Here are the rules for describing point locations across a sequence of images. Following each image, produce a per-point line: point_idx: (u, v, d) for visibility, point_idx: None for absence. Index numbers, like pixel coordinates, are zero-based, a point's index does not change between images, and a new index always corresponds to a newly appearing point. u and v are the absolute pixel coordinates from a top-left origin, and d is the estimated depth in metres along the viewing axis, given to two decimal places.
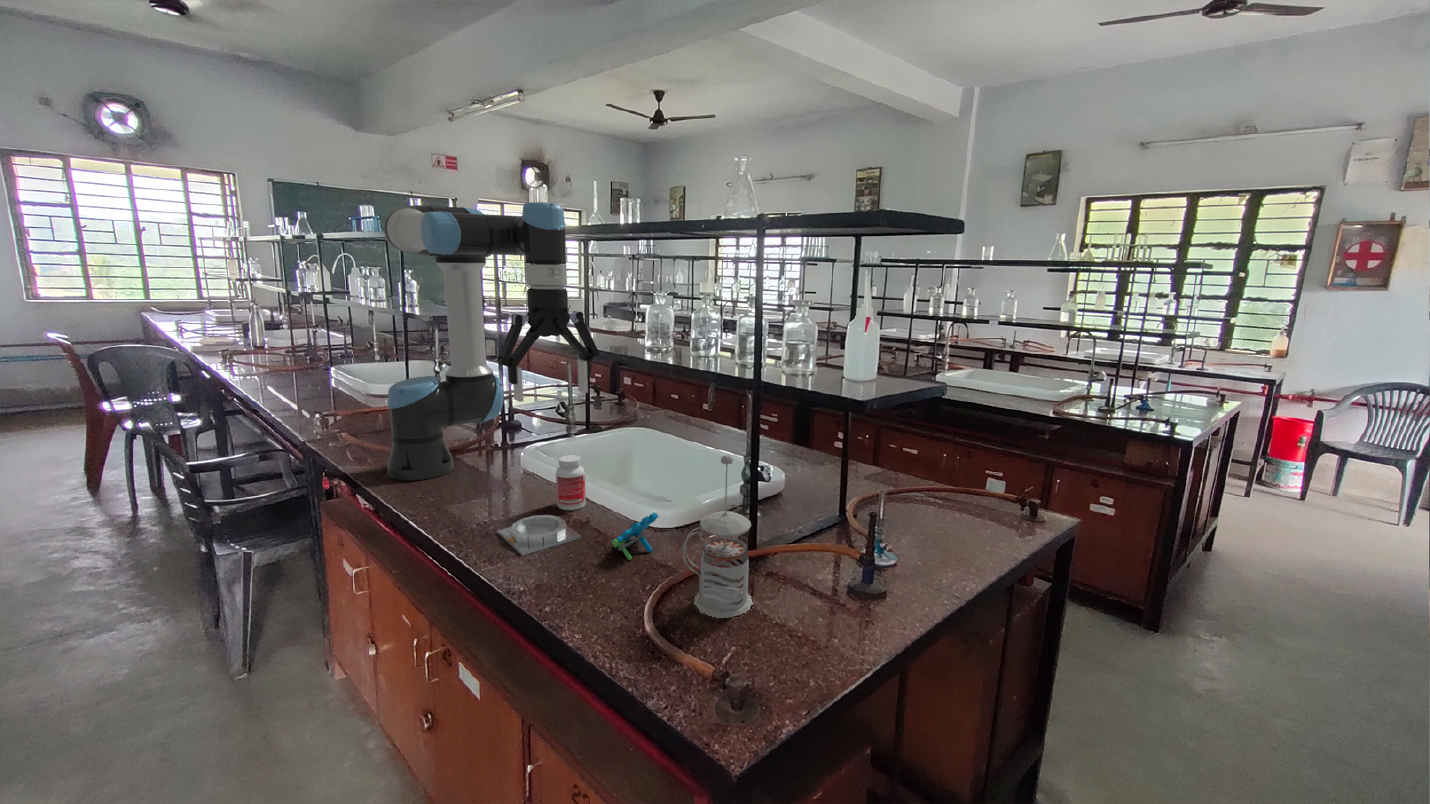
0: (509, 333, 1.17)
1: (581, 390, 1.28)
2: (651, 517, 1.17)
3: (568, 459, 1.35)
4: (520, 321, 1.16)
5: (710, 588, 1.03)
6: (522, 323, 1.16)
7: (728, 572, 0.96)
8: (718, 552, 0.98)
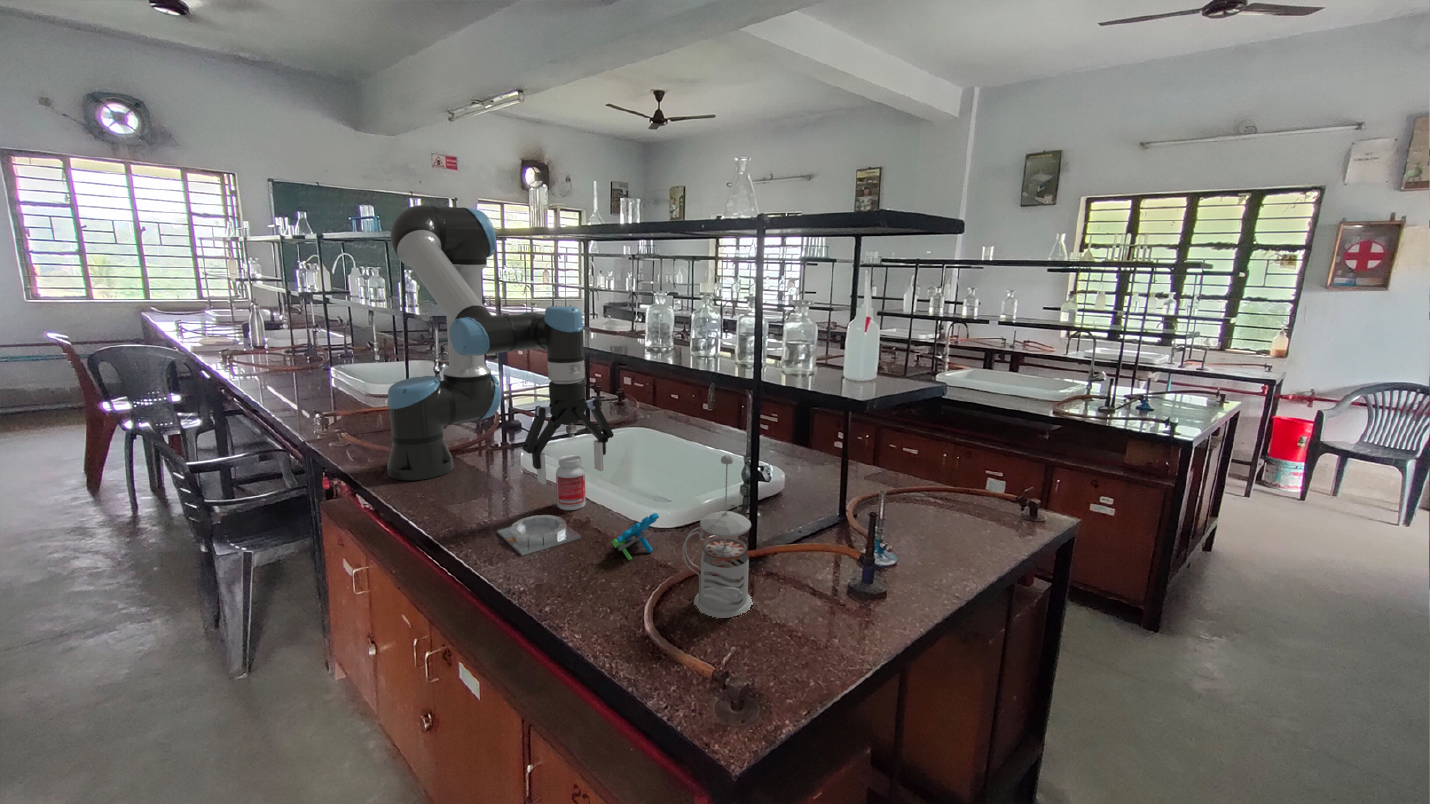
0: (533, 424, 1.29)
1: (597, 468, 1.41)
2: (651, 517, 1.17)
3: (568, 459, 1.35)
4: (543, 413, 1.29)
5: (710, 588, 1.03)
6: (545, 415, 1.29)
7: (728, 572, 0.96)
8: (719, 552, 0.98)
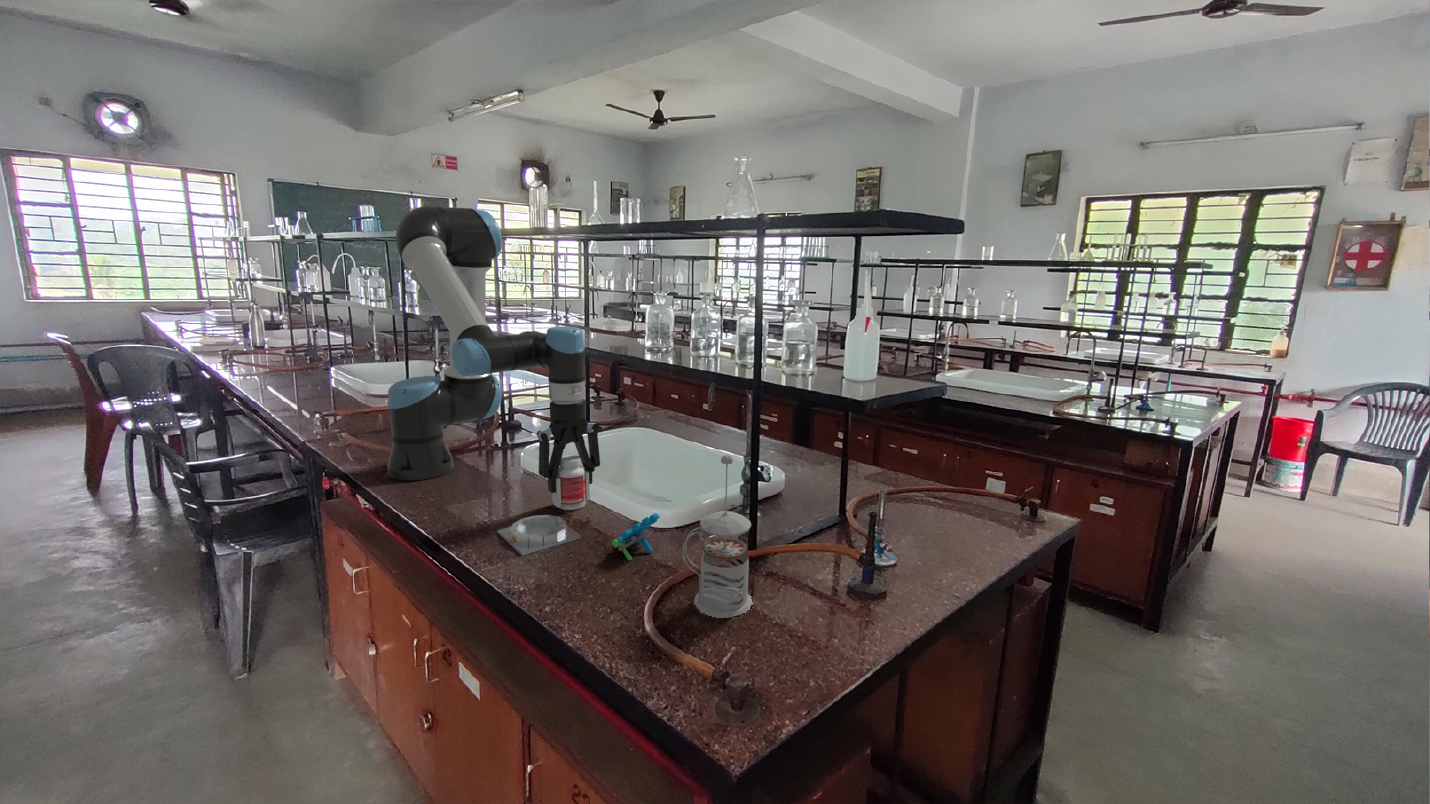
0: (540, 449, 1.32)
1: None
2: (652, 518, 1.17)
3: (568, 459, 1.35)
4: (546, 438, 1.30)
5: (710, 588, 1.03)
6: (548, 439, 1.31)
7: (728, 572, 0.96)
8: (719, 552, 0.98)
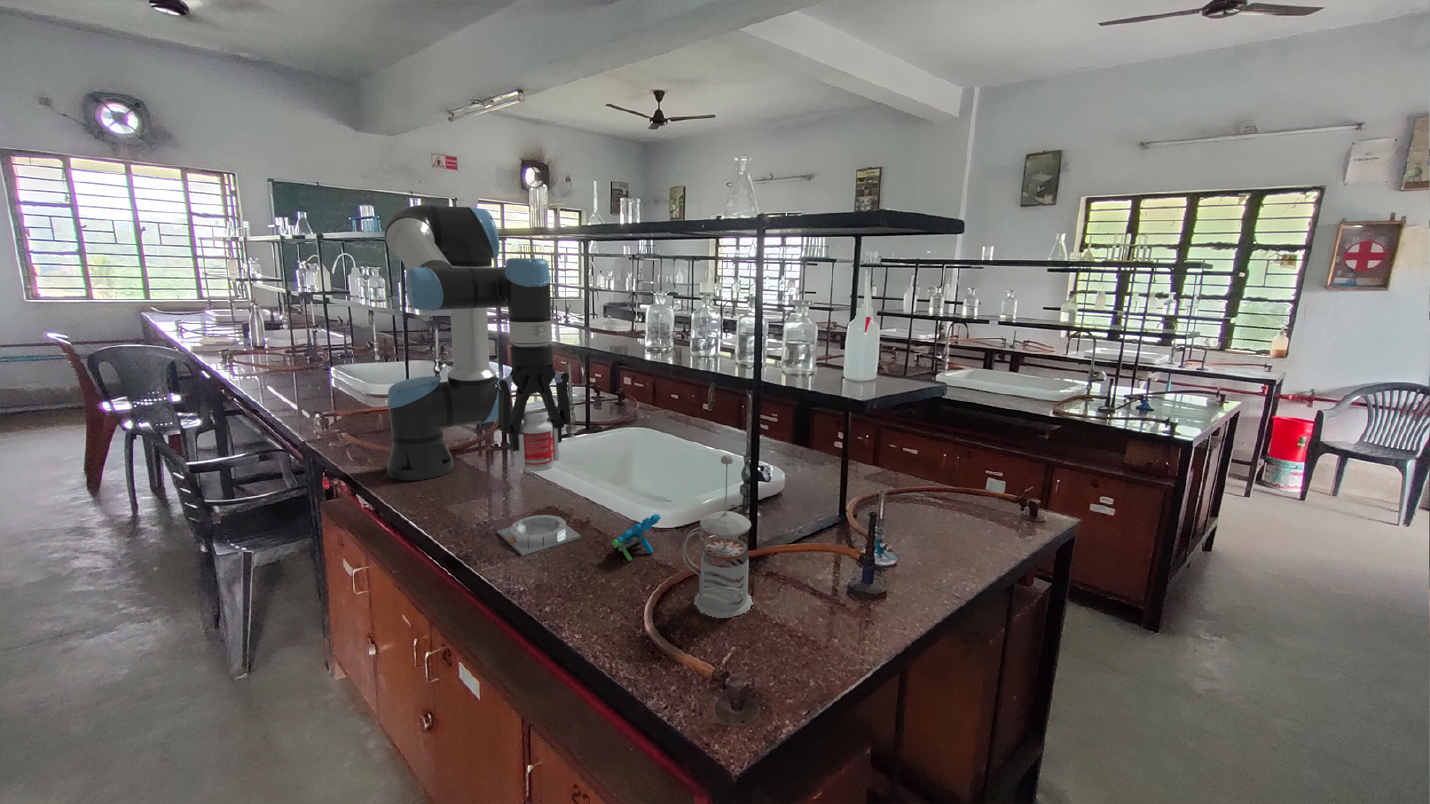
0: (500, 400, 1.14)
1: None
2: (652, 518, 1.16)
3: (533, 413, 1.17)
4: (505, 386, 1.13)
5: (710, 588, 1.03)
6: (508, 387, 1.13)
7: (728, 572, 0.96)
8: (719, 552, 0.98)
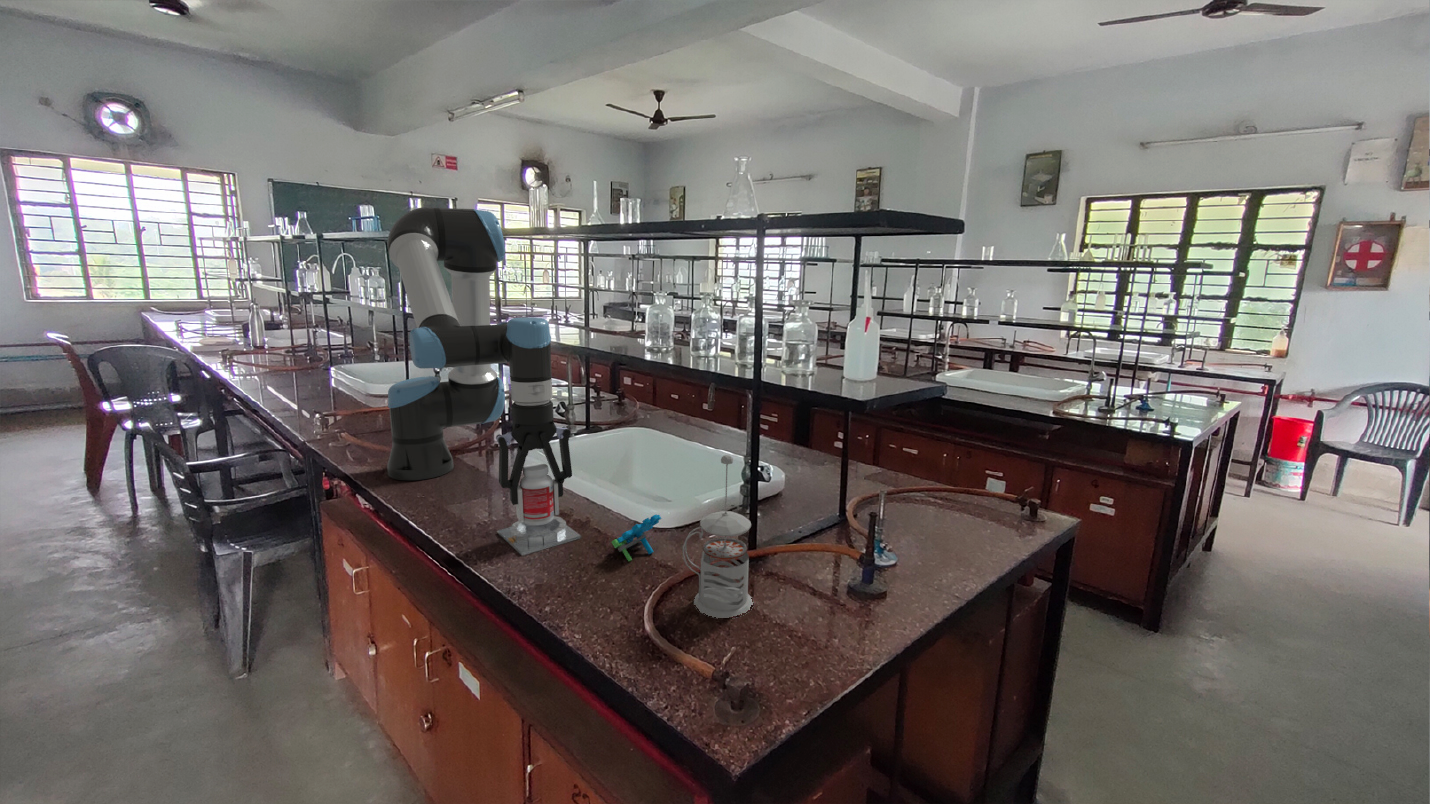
0: (499, 455, 1.17)
1: None
2: (652, 519, 1.16)
3: (532, 468, 1.19)
4: (504, 443, 1.15)
5: (710, 588, 1.03)
6: (507, 444, 1.16)
7: (728, 572, 0.96)
8: (719, 552, 0.98)
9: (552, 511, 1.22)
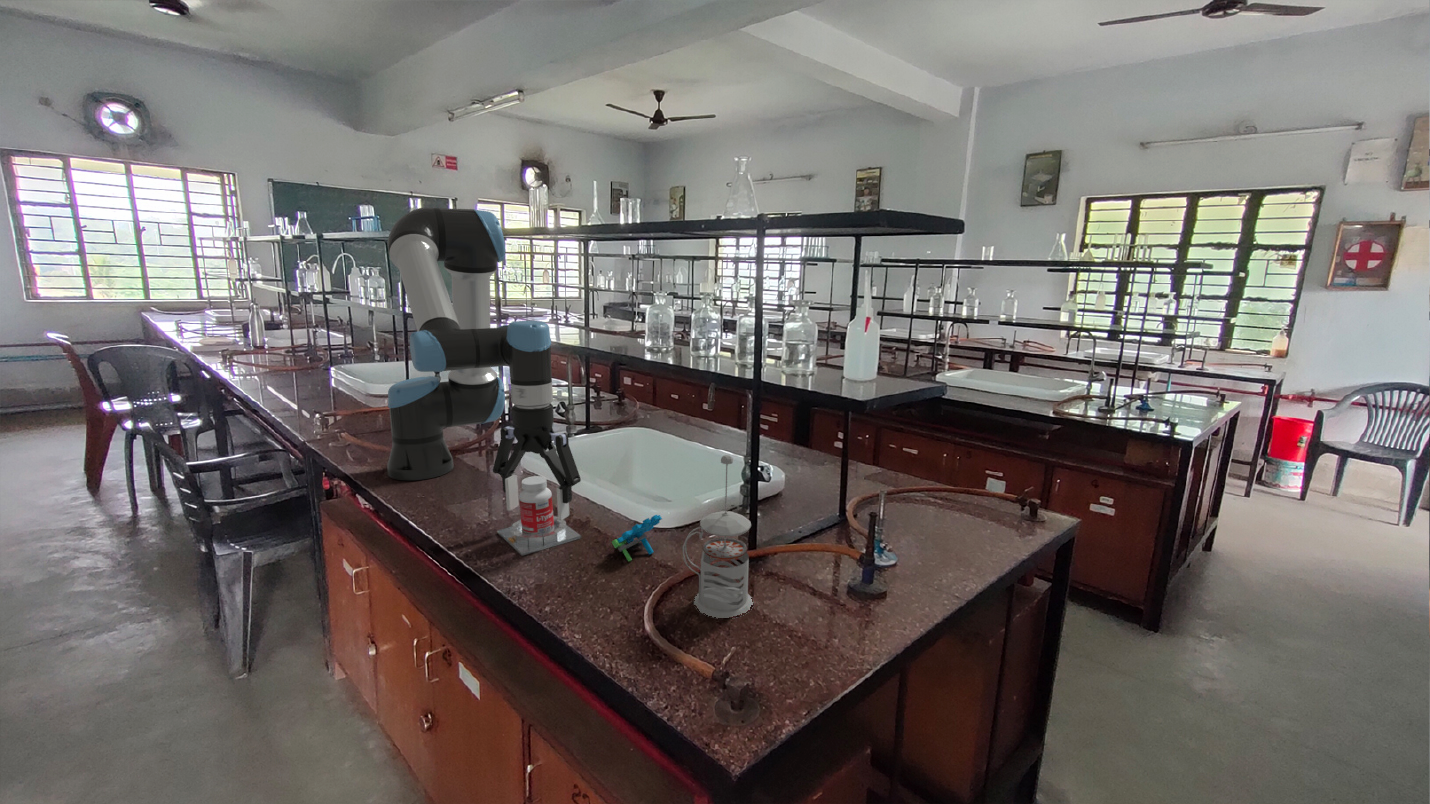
0: None
1: None
2: (653, 519, 1.16)
3: (528, 481, 1.20)
4: (503, 434, 1.20)
5: (710, 588, 1.03)
6: (505, 436, 1.20)
7: (728, 572, 0.96)
8: (718, 552, 0.98)
9: (541, 528, 1.20)
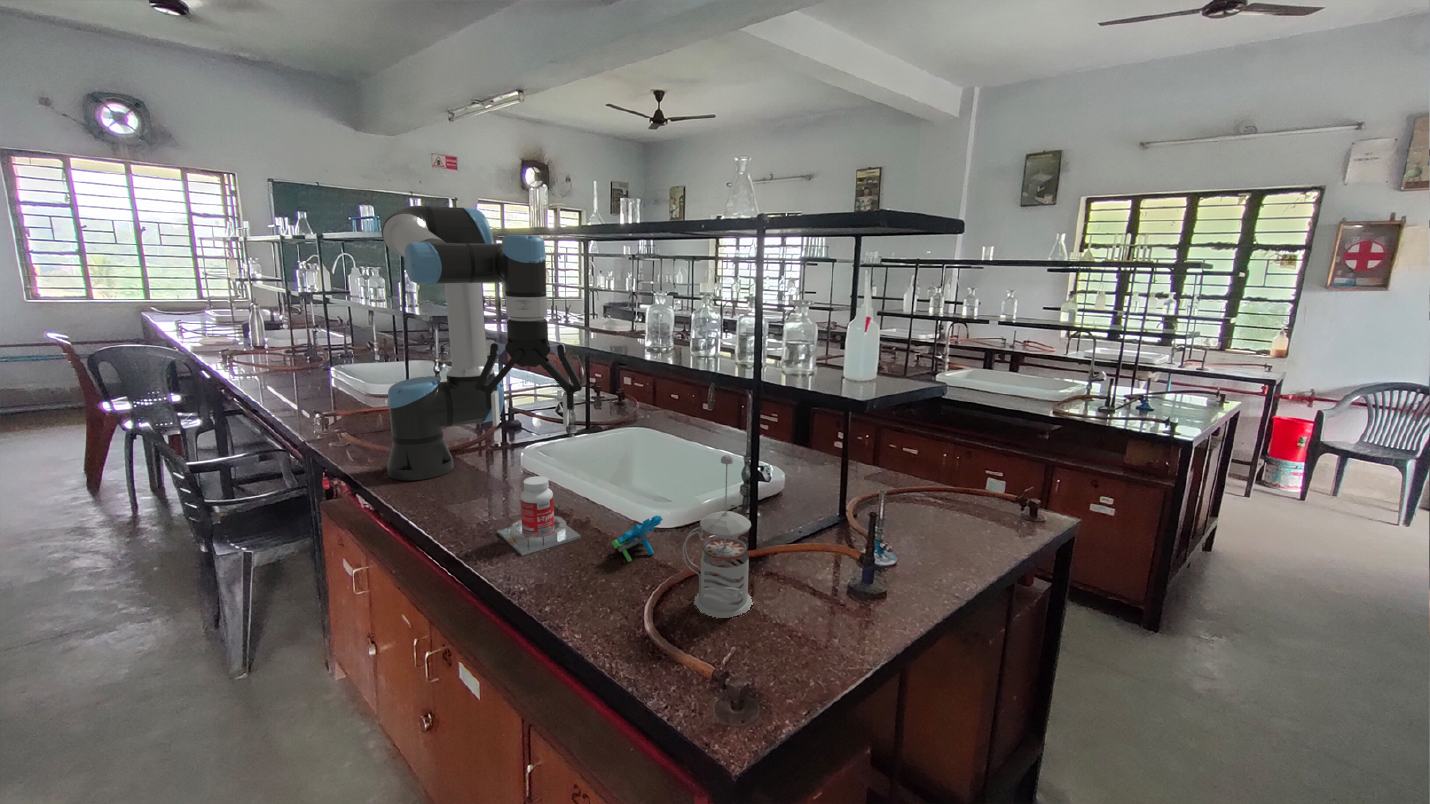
0: None
1: None
2: (653, 520, 1.16)
3: (530, 481, 1.20)
4: (494, 350, 1.19)
5: (710, 588, 1.03)
6: (496, 352, 1.19)
7: (728, 572, 0.96)
8: (718, 552, 0.98)
9: (542, 529, 1.20)
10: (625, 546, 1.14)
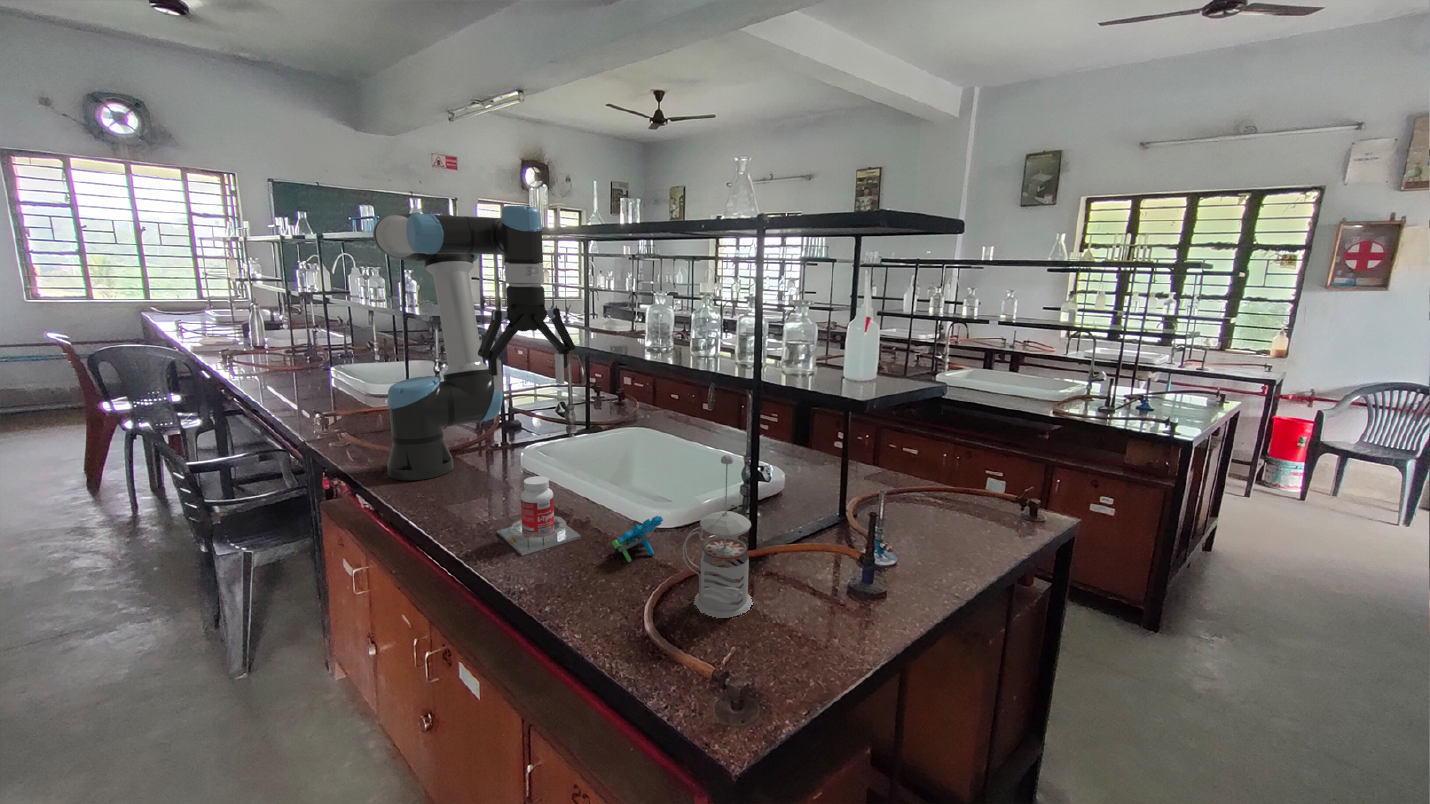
0: (489, 328, 1.25)
1: (558, 382, 1.36)
2: (653, 520, 1.16)
3: (530, 480, 1.21)
4: (499, 316, 1.24)
5: (710, 588, 1.03)
6: (501, 318, 1.25)
7: (728, 572, 0.96)
8: (719, 552, 0.98)
9: (542, 529, 1.20)
10: (625, 546, 1.14)
